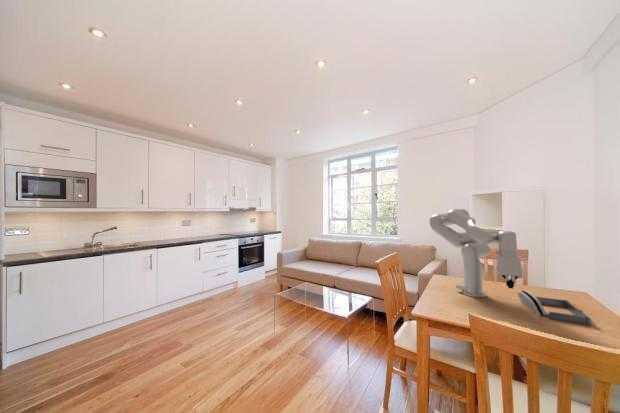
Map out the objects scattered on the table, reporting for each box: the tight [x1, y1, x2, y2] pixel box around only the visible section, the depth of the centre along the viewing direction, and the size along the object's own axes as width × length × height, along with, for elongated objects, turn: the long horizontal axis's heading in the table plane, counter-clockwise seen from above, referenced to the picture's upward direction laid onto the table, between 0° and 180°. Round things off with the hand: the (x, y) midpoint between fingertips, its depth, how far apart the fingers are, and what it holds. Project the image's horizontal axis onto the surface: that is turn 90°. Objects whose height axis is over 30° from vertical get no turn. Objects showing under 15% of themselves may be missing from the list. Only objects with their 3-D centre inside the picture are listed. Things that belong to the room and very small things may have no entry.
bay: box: [535, 296, 592, 327], centre depth 117 cm, size 13×23×4 cm, turn 150°
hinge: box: [516, 290, 549, 317], centre depth 122 cm, size 17×5×10 cm, turn 159°
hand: (510, 287), depth 126 cm, fingers closed
